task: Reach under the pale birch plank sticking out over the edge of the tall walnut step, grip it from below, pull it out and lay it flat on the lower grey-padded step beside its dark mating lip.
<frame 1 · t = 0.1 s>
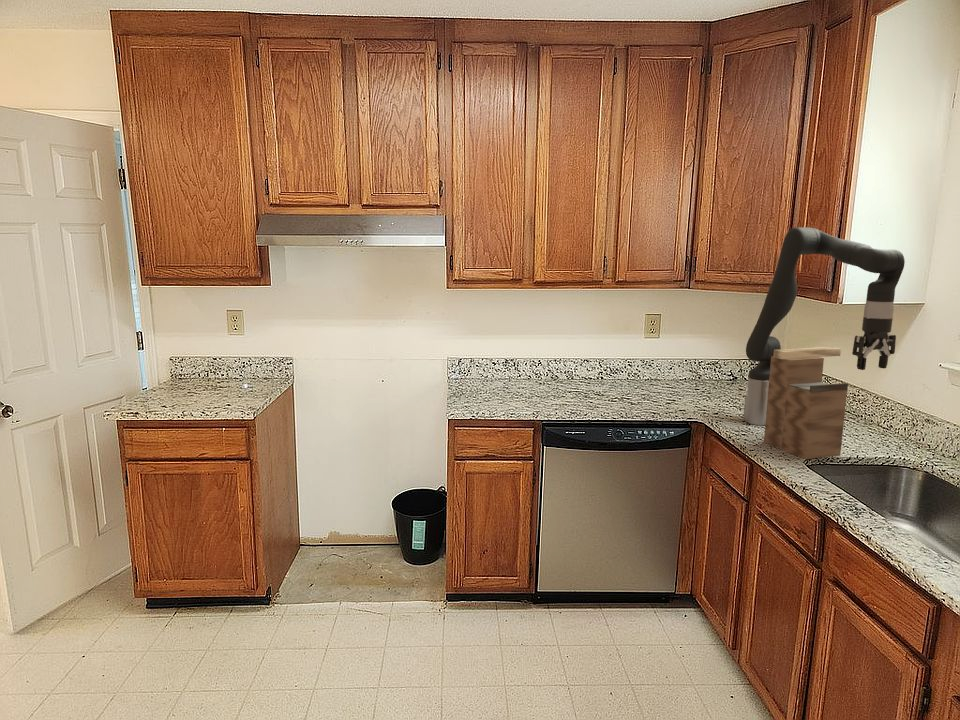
hand: (871, 368, 190), 29 cm above the worktop, tool pointing down, fingers open, 8 cm apart
stepped shelf: (800, 448, 205), on the worktop
birch plank: (807, 356, 206), point 30 cm above the worktop, touching stepped shelf
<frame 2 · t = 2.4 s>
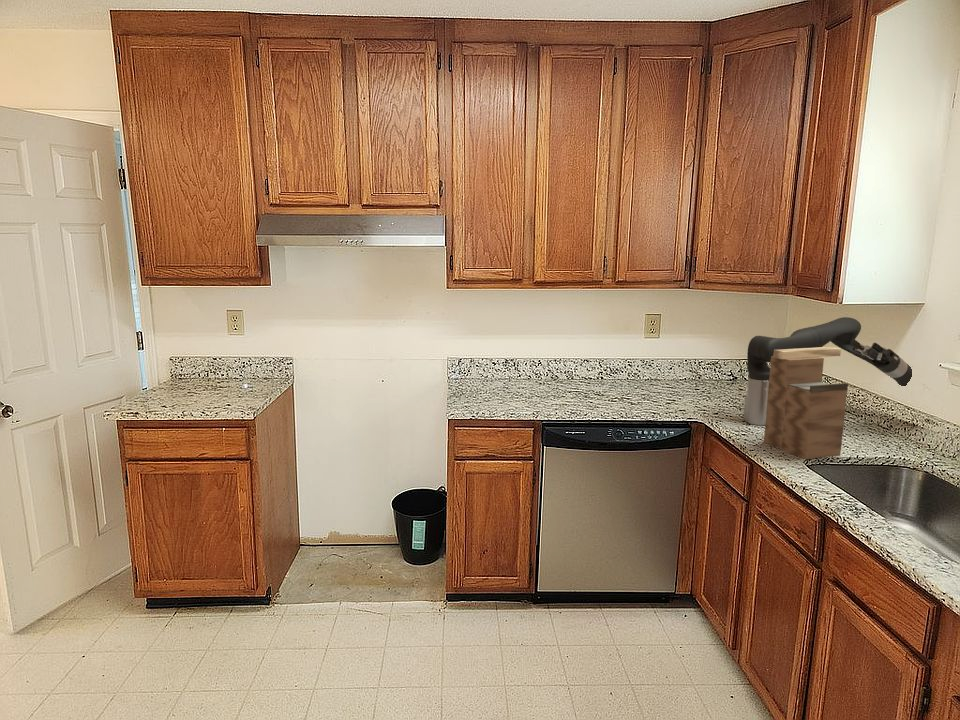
hand: (862, 343, 217), 33 cm above the worktop, tool pointing upward, fingers open, 8 cm apart
nothing on the worktop moved.
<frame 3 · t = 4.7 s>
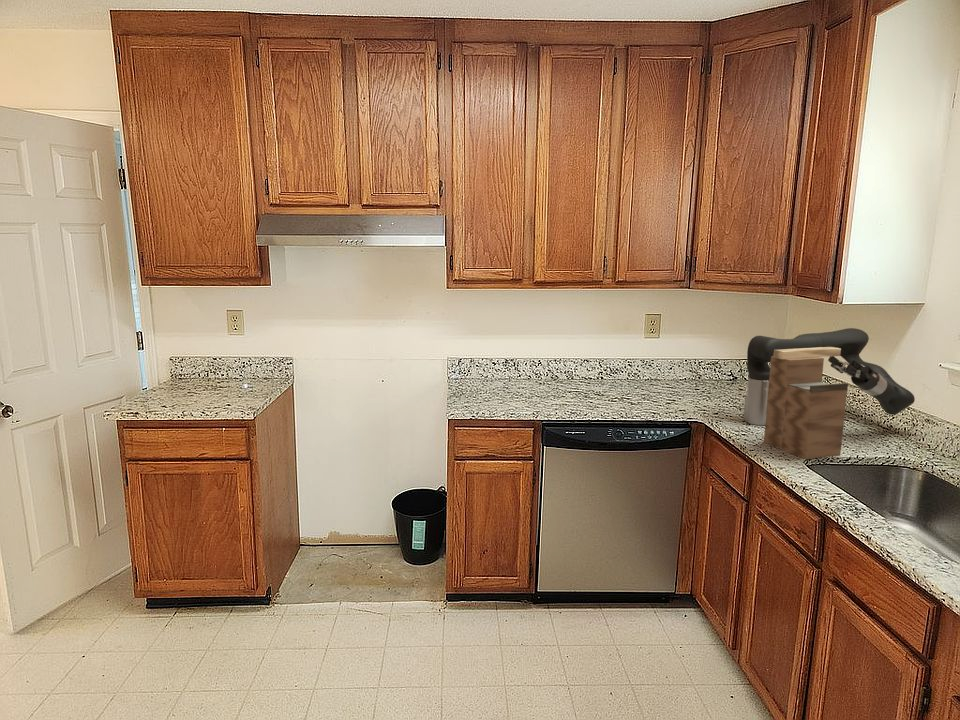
hand: (840, 360, 211), 28 cm above the worktop, tool pointing upward, fingers open, 8 cm apart
nothing on the worktop moved.
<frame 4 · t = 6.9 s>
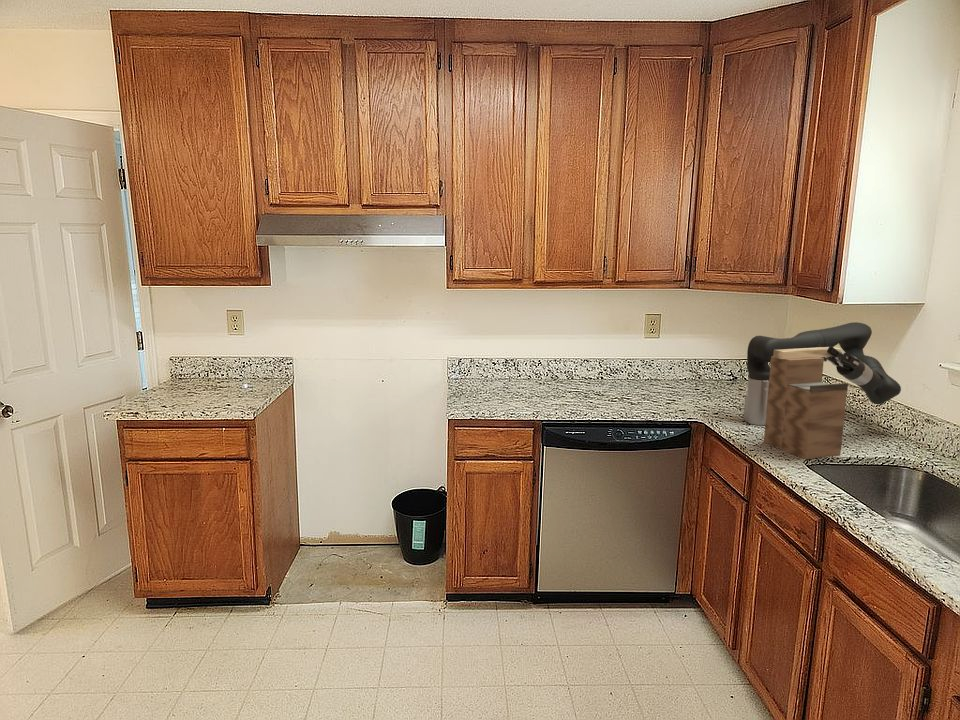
hand: (823, 348, 207), 33 cm above the worktop, tool pointing upward, fingers closed on birch plank, 4 cm apart
birch plank: (806, 356, 206), point 30 cm above the worktop, touching gripper, stepped shelf
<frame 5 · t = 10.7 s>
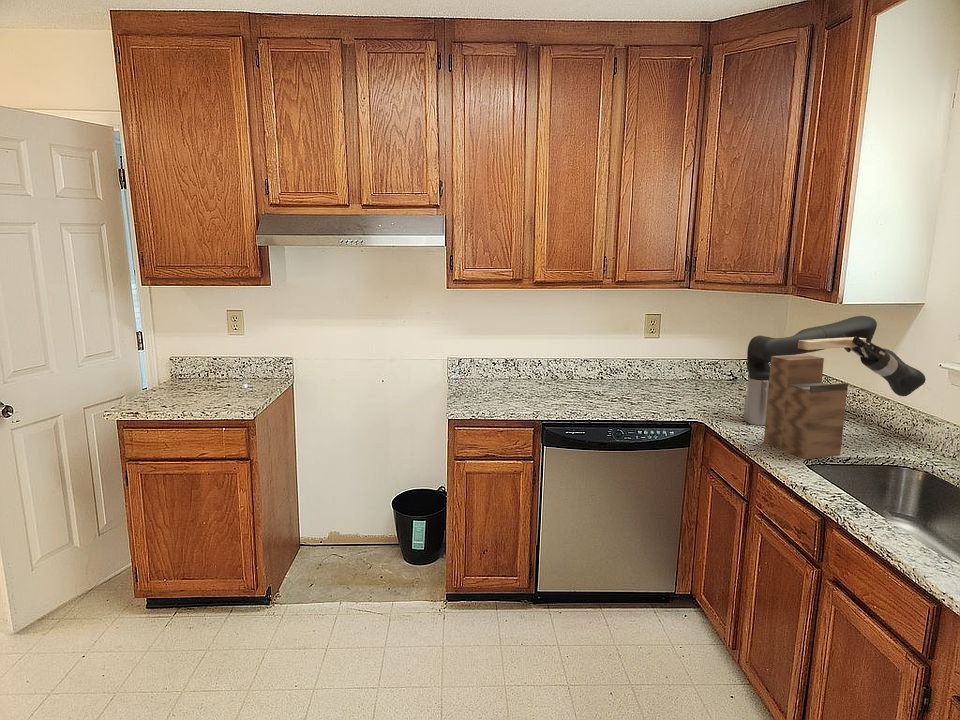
hand: (848, 338, 203), 37 cm above the worktop, tool pointing upward, fingers closed on birch plank, 4 cm apart
birch plank: (831, 347, 201), point 34 cm above the worktop, touching gripper
when the fingers open (26 cm above the worktop, at t = 14.3 s): birch plank drops 1 cm, resting on stepped shelf.
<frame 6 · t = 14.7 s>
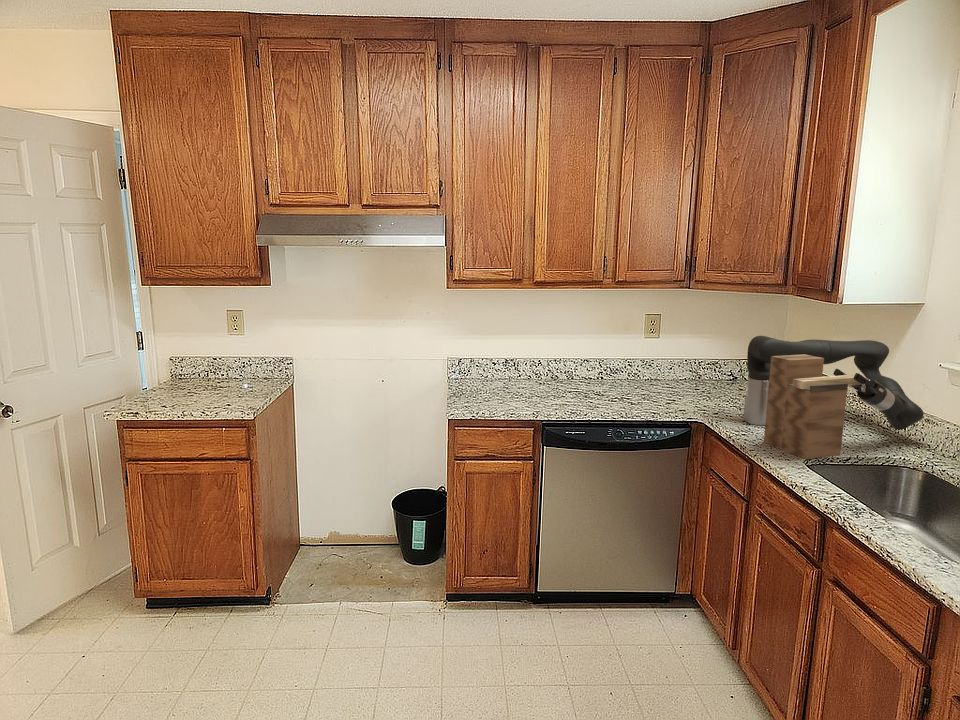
hand: (845, 373, 200), 26 cm above the worktop, tool pointing upward, fingers open, 7 cm apart
birch plank: (827, 385, 199), point 22 cm above the worktop, touching stepped shelf
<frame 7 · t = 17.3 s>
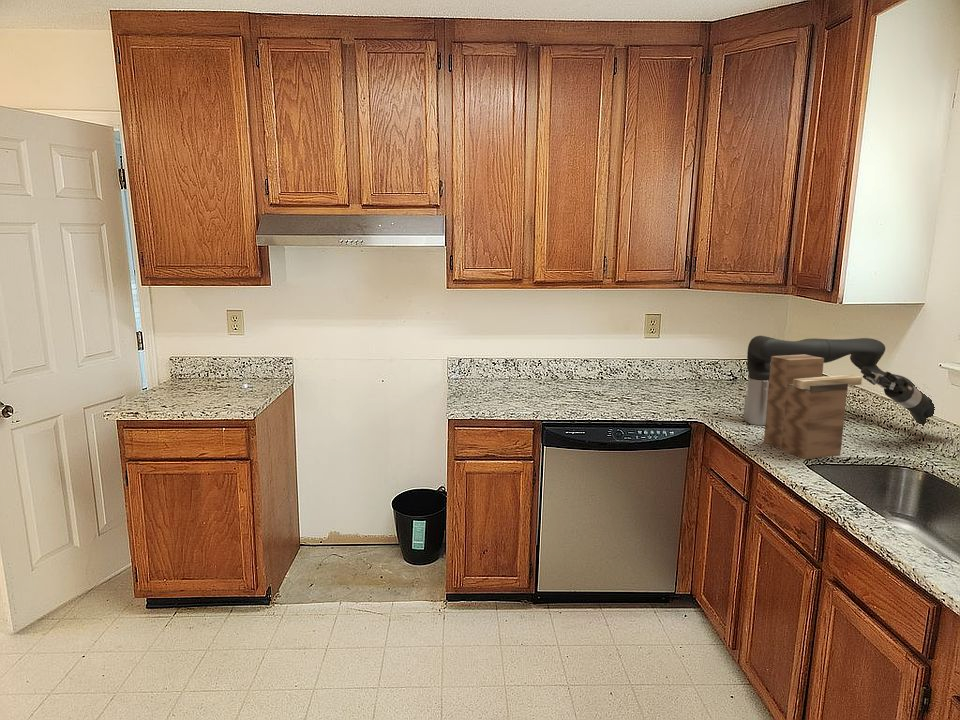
hand: (874, 371, 204), 25 cm above the worktop, tool pointing upward, fingers open, 8 cm apart
nothing on the worktop moved.
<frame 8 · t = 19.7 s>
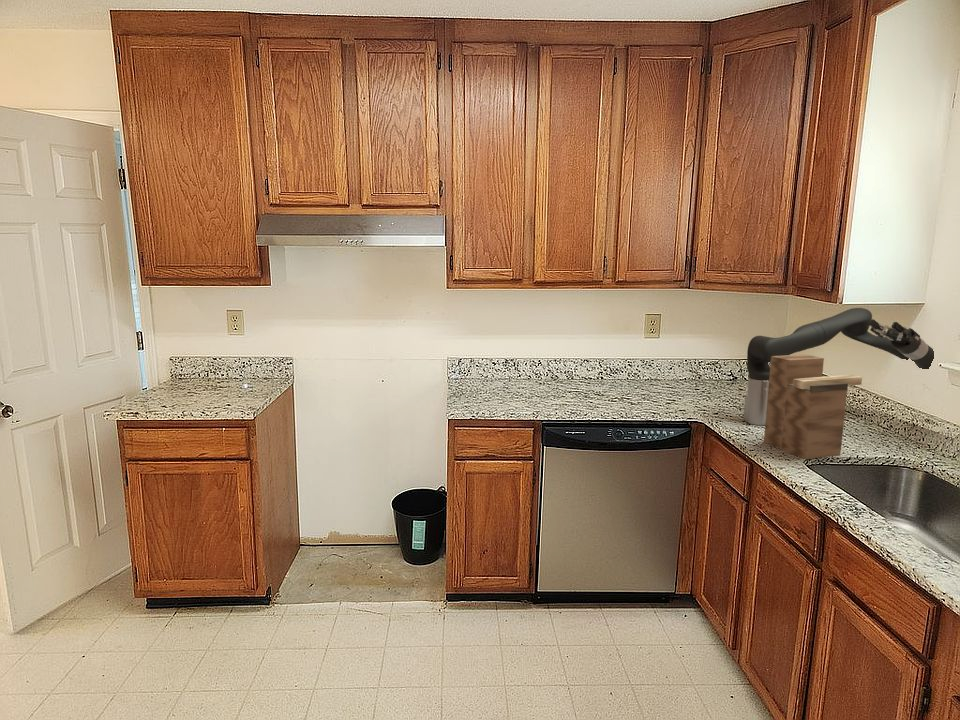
hand: (881, 322, 208), 41 cm above the worktop, tool pointing upward, fingers open, 8 cm apart
nothing on the worktop moved.
at the end: birch plank inside the target area (0.1 cm from its centre), point 22.0 cm above the worktop; birch plank tilted 0°; the gripper is holding nothing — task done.
